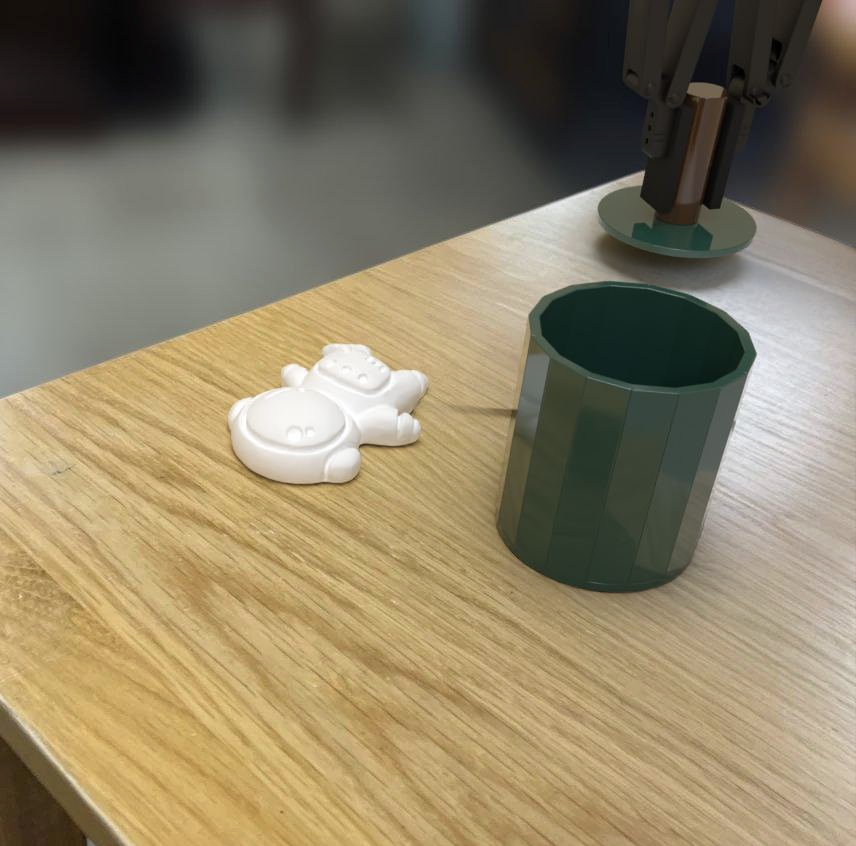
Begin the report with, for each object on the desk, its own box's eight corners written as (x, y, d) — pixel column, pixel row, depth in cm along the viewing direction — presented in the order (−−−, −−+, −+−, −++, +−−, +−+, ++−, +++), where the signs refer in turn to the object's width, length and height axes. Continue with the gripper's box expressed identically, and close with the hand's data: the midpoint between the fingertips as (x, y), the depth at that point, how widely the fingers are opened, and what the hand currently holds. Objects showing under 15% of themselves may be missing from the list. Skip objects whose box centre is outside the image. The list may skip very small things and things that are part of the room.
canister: (679, 478, 62) (732, 290, 55) (710, 601, 55) (776, 401, 48) (492, 462, 62) (524, 273, 56) (498, 583, 55) (535, 382, 48)
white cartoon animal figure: (465, 416, 65) (472, 367, 63) (306, 508, 58) (309, 456, 57) (347, 353, 70) (350, 305, 68) (186, 431, 63) (185, 380, 61)
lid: (736, 205, 83) (772, 68, 77) (766, 272, 75) (809, 125, 69) (588, 195, 83) (612, 58, 78) (602, 261, 75) (631, 114, 70)
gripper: (869, -241, 68) (758, 170, 82) (607, -242, 64) (540, 188, 79) (957, -221, 62) (821, 217, 77) (676, -220, 59) (591, 238, 73)
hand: (679, 201), depth 78 cm, fingers closed on lid, 3 cm apart
